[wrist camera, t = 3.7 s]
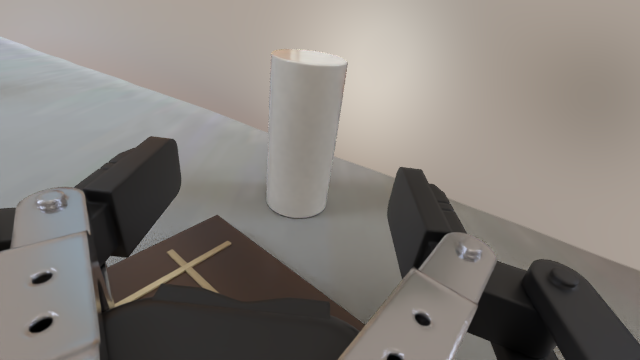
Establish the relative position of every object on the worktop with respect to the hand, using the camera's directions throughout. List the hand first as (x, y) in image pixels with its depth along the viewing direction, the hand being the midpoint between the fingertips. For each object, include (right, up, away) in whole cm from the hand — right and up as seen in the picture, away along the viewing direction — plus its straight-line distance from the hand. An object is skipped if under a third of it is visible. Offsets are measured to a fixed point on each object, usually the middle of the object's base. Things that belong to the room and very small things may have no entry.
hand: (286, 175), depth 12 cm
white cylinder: (0, -2, +12) cm, 12 cm away
